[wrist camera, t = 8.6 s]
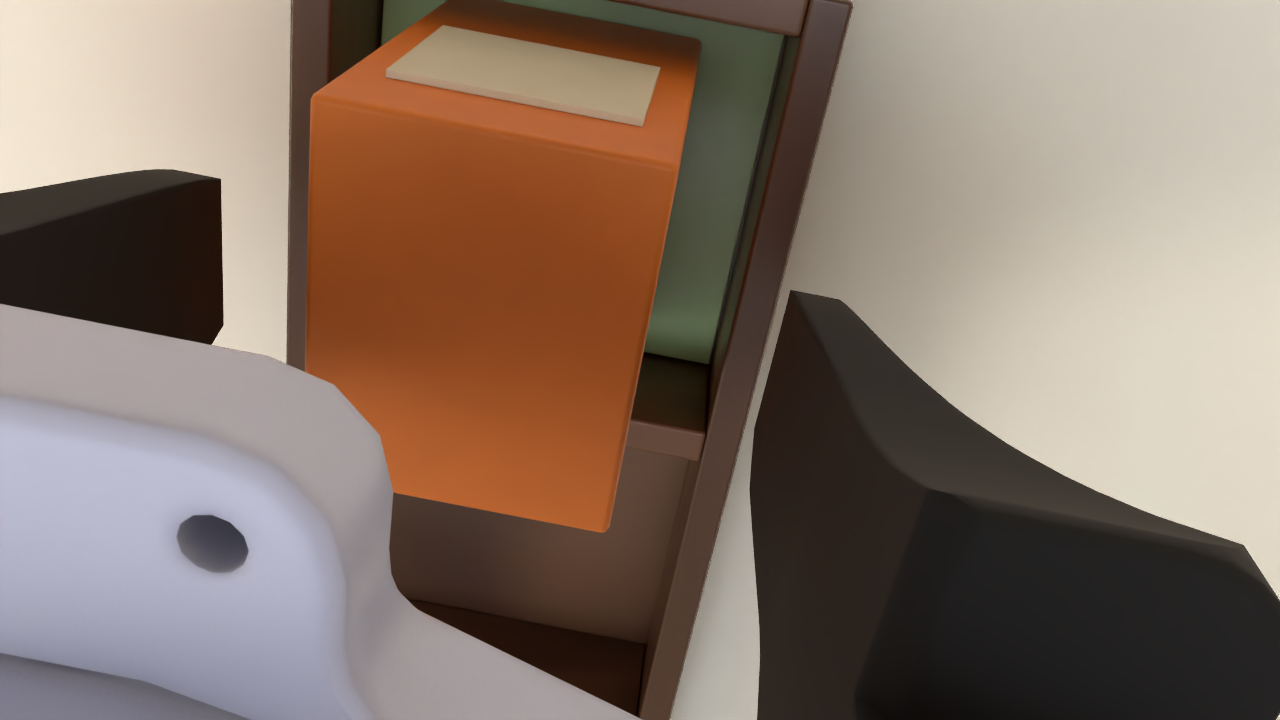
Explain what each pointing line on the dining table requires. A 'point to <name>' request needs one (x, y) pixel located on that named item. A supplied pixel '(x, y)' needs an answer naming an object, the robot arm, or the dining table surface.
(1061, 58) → the dining table surface
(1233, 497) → the dining table surface
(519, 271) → the orange block
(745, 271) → the organizer
